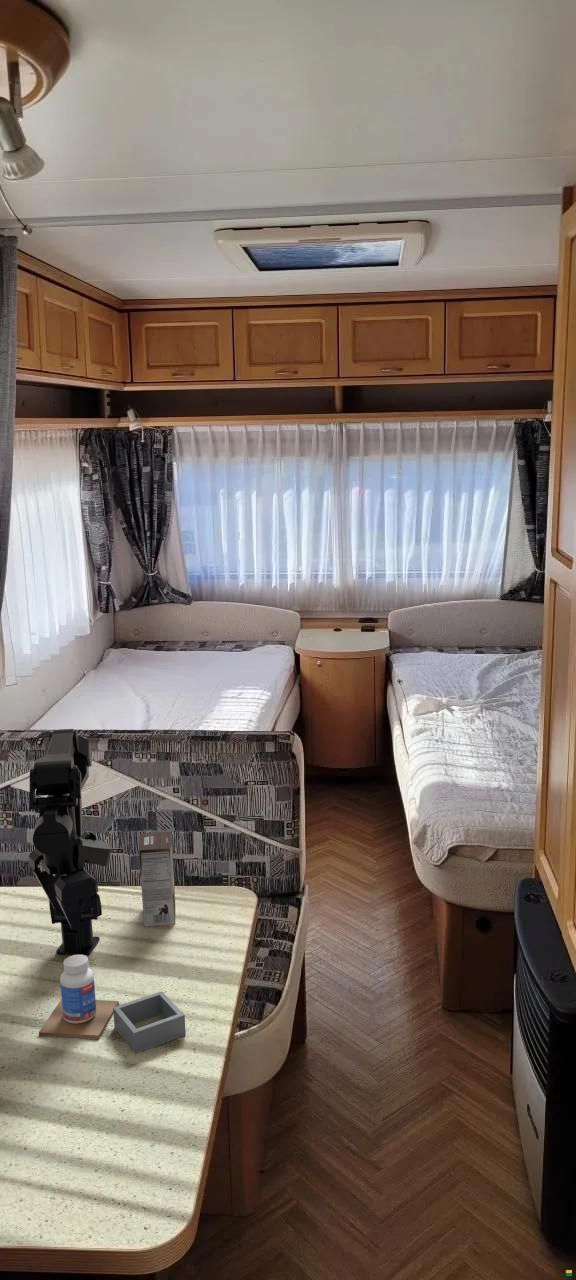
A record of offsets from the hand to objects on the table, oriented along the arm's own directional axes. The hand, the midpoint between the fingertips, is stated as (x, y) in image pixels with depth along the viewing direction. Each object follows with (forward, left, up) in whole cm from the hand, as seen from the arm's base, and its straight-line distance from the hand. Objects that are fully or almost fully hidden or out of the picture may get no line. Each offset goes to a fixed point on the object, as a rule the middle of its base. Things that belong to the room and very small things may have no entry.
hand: (66, 918), depth 167 cm
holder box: (+12, +17, -13) cm, 25 cm away
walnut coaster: (+9, +5, -13) cm, 17 cm away
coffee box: (-28, +8, -13) cm, 32 cm away
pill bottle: (+9, +5, -13) cm, 16 cm away
